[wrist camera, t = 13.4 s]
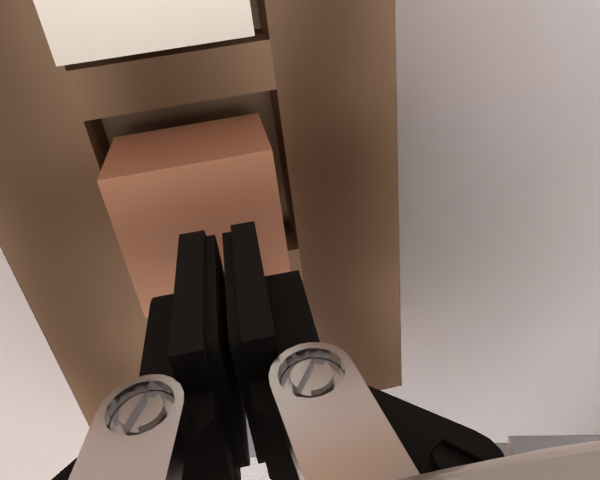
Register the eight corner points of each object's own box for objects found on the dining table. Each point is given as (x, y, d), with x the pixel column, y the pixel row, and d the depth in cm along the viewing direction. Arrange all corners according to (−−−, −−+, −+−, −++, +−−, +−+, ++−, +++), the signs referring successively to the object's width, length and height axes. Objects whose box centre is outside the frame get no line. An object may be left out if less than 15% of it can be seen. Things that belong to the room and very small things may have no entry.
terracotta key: (257, 112, 14) (272, 149, 12) (277, 234, 16) (293, 287, 14) (113, 137, 14) (96, 180, 11) (152, 258, 16) (145, 317, 14)
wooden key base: (345, -246, 14) (389, -299, 11) (375, 329, 24) (401, 385, 21) (-137, -196, 12) (-241, -239, 9) (114, 386, 23) (102, 453, 20)
